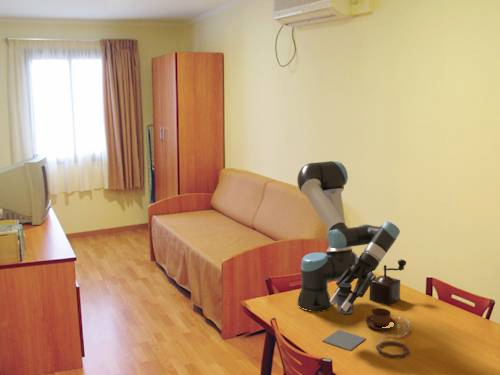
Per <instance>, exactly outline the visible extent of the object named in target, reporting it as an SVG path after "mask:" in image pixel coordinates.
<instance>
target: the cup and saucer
mask: <svg viewBox="0 0 500 375" xmlns="http://www.w3.org/2000/svg"><path fill="white" fill-rule="evenodd" d="M390 322H393V323H394V326H393V327H390V328H382V327H386V326H388V325H389V323H390ZM365 324H366V325H367V326H368V327H370V328H372V329H373V330H379V331H388V330H391V329H394V327H396V325H397V321H396V320H395V319H393V318H391V311H390V310H388V309H387V308H381V307H378V308H373V309H372V310H371V314H368V315H367V316H366V318H365Z"/></svg>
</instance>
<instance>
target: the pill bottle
mask: <svg viewBox="0 0 500 375" xmlns="http://www.w3.org/2000/svg"><path fill="white" fill-rule="evenodd" d="M352 286H353V285H352V284H351V283H350V284H349V283H341V284H339V289H340V290H338V292H337V303H336V310H337V313H338V314H339V315H341V316H345V317H347V316H352V315H353V314H354V303H353V304H351V305H350V307H349V308H348V310H347V311H344V310H343V309H342V308H341V306H342V305H343V303H344V302H345V300H346V299H347V297H348V296H349V294H350V293H352V292H353V291H354V290H352ZM352 294H353V293H352Z"/></svg>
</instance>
